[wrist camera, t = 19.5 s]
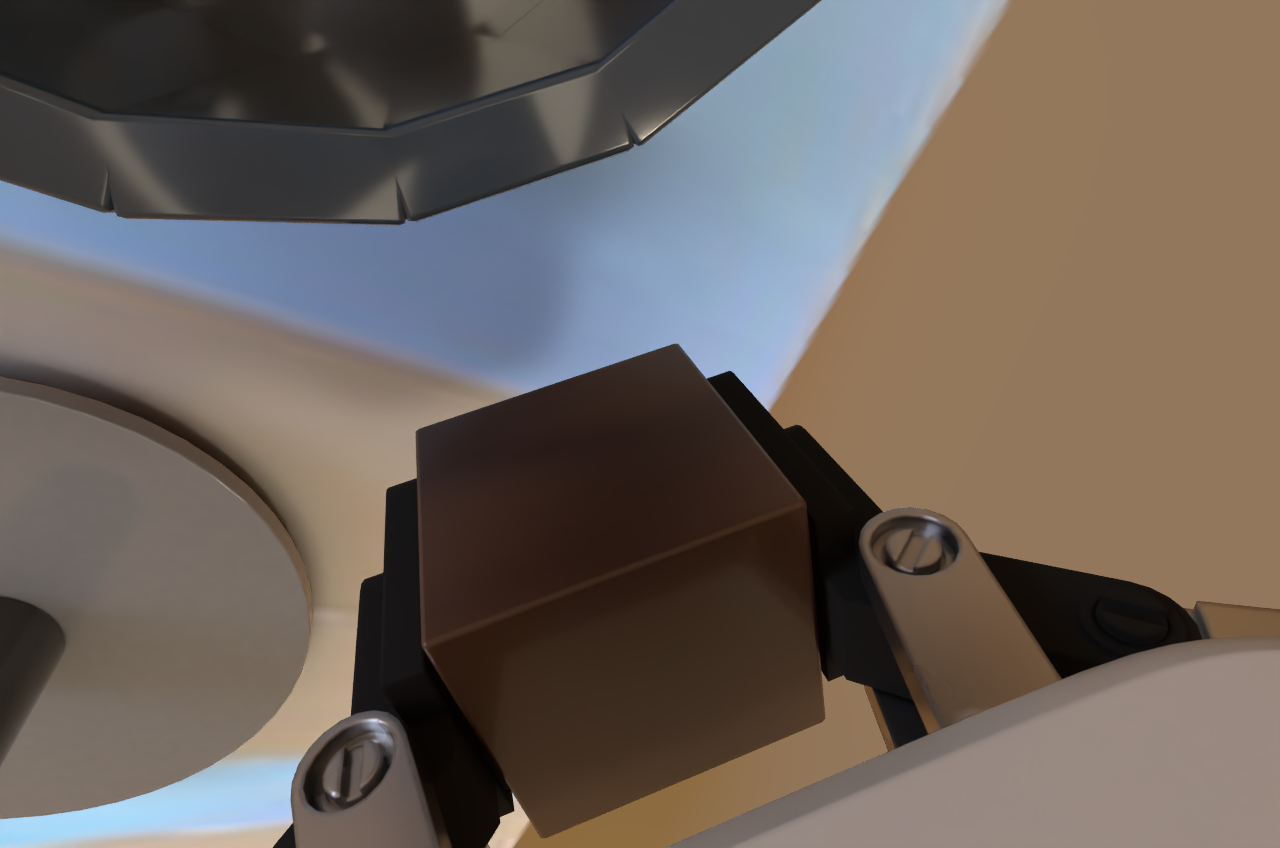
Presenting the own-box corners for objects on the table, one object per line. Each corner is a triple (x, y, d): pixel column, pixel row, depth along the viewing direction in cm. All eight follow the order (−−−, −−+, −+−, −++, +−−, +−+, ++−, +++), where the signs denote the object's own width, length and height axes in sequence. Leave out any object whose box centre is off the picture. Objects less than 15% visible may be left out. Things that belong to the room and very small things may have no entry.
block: (503, 611, 13) (541, 842, 9) (413, 428, 11) (418, 647, 7) (715, 532, 14) (828, 722, 10) (677, 340, 11) (810, 501, 7)
